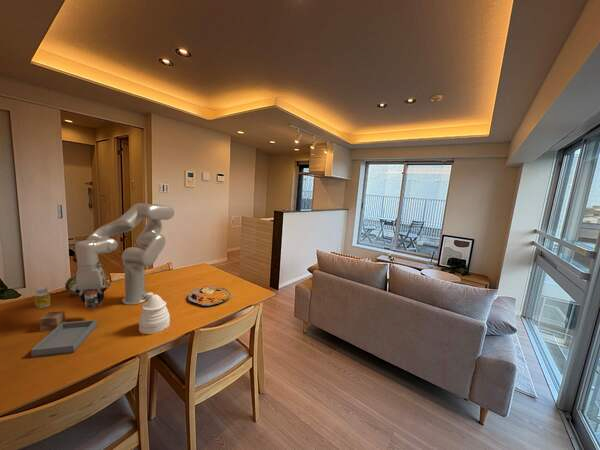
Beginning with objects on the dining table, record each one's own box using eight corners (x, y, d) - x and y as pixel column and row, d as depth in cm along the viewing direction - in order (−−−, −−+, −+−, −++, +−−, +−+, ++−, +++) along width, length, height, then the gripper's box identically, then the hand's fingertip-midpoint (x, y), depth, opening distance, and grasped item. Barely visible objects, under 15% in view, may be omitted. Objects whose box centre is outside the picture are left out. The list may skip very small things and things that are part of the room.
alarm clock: (67, 298, 135) (65, 271, 133) (65, 295, 138) (63, 269, 136) (92, 293, 144) (91, 267, 142) (89, 290, 147) (88, 265, 145)
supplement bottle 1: (52, 302, 131) (50, 285, 129) (48, 306, 126) (47, 289, 125) (37, 304, 128) (36, 287, 126) (34, 308, 123) (32, 291, 122)
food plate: (179, 299, 144) (179, 294, 144) (207, 286, 166) (207, 282, 165) (212, 311, 135) (212, 306, 135) (237, 296, 157) (237, 291, 156)
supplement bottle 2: (92, 302, 120) (89, 281, 118) (104, 302, 121) (102, 281, 119) (82, 308, 115) (79, 287, 112) (95, 309, 115) (93, 287, 113)
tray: (96, 325, 114) (96, 319, 113) (73, 352, 96) (73, 345, 95) (62, 328, 110) (61, 322, 109) (31, 357, 92) (30, 350, 91)
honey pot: (147, 338, 108) (146, 301, 105) (133, 327, 115) (132, 292, 112) (175, 325, 119) (175, 291, 116) (161, 316, 125) (160, 284, 123)
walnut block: (65, 322, 114) (64, 311, 113) (57, 330, 109) (56, 317, 108) (49, 324, 112) (48, 312, 111) (40, 331, 107) (39, 319, 106)
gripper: (113, 262, 120) (117, 295, 123) (70, 264, 114) (75, 298, 118) (107, 268, 113) (111, 303, 117) (61, 270, 107) (66, 306, 111)
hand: (93, 300), depth 117 cm, fingers closed on supplement bottle 2, 6 cm apart
